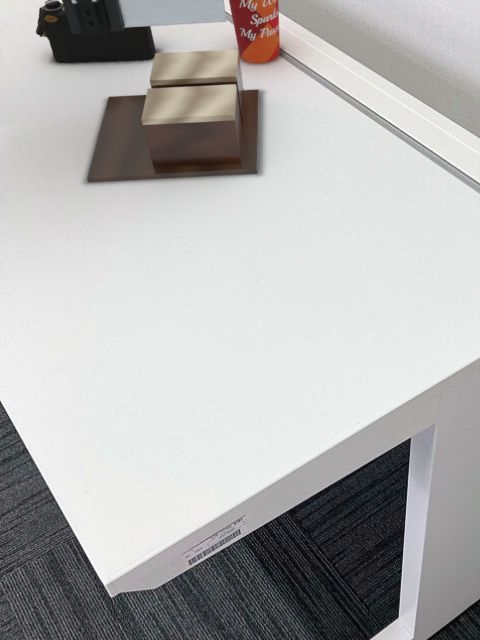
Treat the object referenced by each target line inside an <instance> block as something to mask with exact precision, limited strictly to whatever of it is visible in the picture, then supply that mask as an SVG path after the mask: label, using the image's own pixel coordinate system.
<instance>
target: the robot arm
mask: <svg viewBox="0 0 480 640" xmlns="http://www.w3.org/2000/svg"><path fill="white" fill-rule="evenodd" d="M71 1H72V3H73V6H74V9H75V13H76V16H77V19H78V23H79V26H80V29H81V33H82V35H84V36H98V35H108V34H109V33H110V28H109V24H108V20H107V17H106V13H105V9H104V5H103V2H102V0H71Z"/></svg>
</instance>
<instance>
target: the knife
mask: <svg viewBox="0 0 480 640" xmlns="http://www.w3.org/2000/svg"><path fill="white" fill-rule="evenodd" d="M102 2H103V5H104V9H105V13H106V17H107V20H108V24H109V28H110V32H114V31H124V27H143V26H150V27H158V26H160V27H161V26H176V25H194V24H195V25H197V24H211V23H212V24H213V23H227V21H228V19H227V12H226V7H225V0H102ZM61 3H62V4H63V6H64V9H65V12H66V15H67V18H68V22H69V25H70V28H71V31H72V34H78V33H81V29H80V26H79V23H78V19H77V16H76V13H75V9H74V6H73V3H72V1H71V0H61Z"/></svg>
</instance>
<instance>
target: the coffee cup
mask: <svg viewBox="0 0 480 640" xmlns="http://www.w3.org/2000/svg"><path fill="white" fill-rule="evenodd" d="M228 3H229V8H230V14H231V18H232V22H233V28H234V33H235V38H236V43H237V44H236V45H237V48H238V52H239V58H241V60H243V61H244V62H246V63H250V64H266V63H270V62H272V61H275V60H276V59H278V57H279V56H280V52H281V51H280V49H281V48H280V46H281V45H280V10H279V0H228Z"/></svg>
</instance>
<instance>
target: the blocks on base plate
mask: <svg viewBox="0 0 480 640" xmlns="http://www.w3.org/2000/svg"><path fill="white" fill-rule="evenodd" d="M241 67H242V66H241V59H240V53H239V48H238V49H216V50H214V49H213V50H195V51H194V50H193V51H176V52H175V51H172V52H170V51H169V52H156V53H155V57H154V58H153V61H152V67H151V71H150V75H149V76H150V77H149V84H150V88H147V91H146V94H135V95H119V96H118V95H116V96H115V95H114V96H108V99H107V102H106V106H105V109H104V114H103V117H102V120H101V123H100V127H99V132H98V135H97V140H96V144H95V147H94V151H93V155H92V159H91V163H90V165H89V166H90V167H89V169H88V173H87V178H86V179H87V182H88V183H98V182H99V183H101V182H102V183H105V182H122V181H123V182H124V181H141V180H142V181H143V180H159V179H160V180H161V179H179V178H181V179H182V178H197V177H199V178H200V177H215V176H216V177H219V176H234V175H254V174H258V173H259V171H258V170H259V128H260V123H259V122H260V89H257V88H256V89H244V83H243V82H244V81H243V76H242V68H241Z"/></svg>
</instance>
